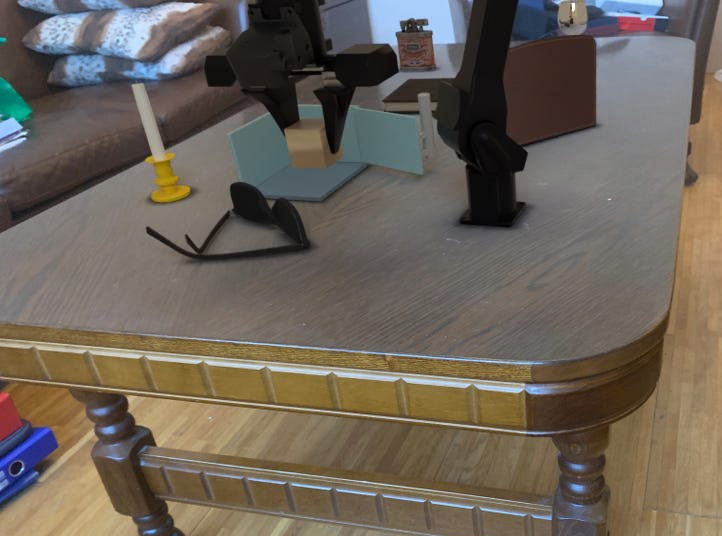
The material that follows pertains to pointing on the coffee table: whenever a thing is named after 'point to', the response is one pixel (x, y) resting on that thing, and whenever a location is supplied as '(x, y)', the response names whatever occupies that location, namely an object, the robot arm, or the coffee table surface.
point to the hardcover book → (413, 95)
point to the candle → (158, 152)
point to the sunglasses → (252, 208)
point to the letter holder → (550, 87)
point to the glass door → (396, 137)
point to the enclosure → (273, 165)
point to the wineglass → (572, 17)
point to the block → (310, 144)
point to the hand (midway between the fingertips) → (316, 152)
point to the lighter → (415, 46)
